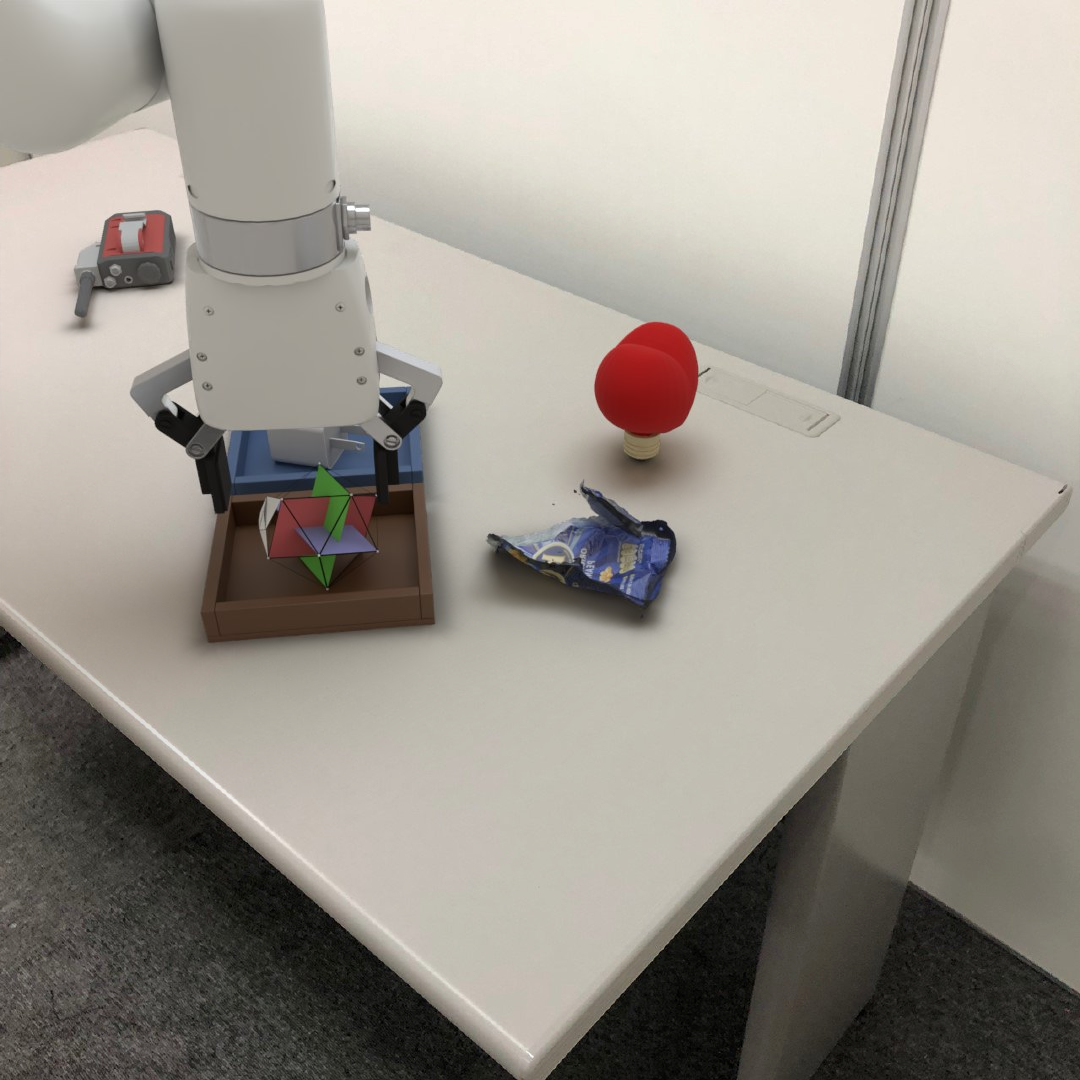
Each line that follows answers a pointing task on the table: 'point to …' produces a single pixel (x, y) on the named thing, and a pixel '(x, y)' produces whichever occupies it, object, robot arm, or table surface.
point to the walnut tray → (302, 605)
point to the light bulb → (648, 385)
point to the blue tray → (264, 475)
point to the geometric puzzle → (319, 525)
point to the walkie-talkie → (127, 255)
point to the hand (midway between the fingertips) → (304, 496)
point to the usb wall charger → (313, 444)
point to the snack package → (599, 551)
